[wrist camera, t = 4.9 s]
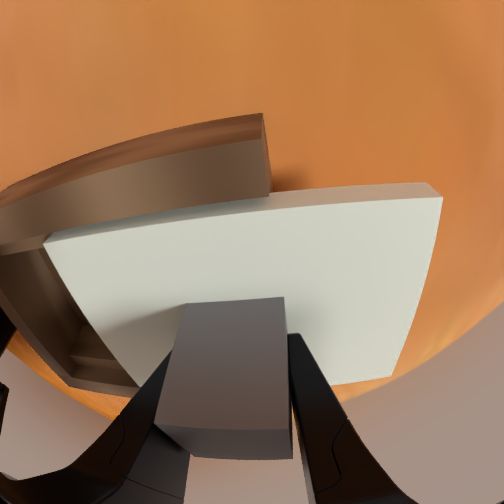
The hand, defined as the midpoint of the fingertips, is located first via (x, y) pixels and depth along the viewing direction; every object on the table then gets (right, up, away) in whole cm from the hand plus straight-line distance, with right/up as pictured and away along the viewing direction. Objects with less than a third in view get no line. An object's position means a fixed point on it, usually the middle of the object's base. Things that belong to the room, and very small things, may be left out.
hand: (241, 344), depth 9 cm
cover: (0, +1, +1) cm, 2 cm away
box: (-5, +2, +5) cm, 8 cm away
